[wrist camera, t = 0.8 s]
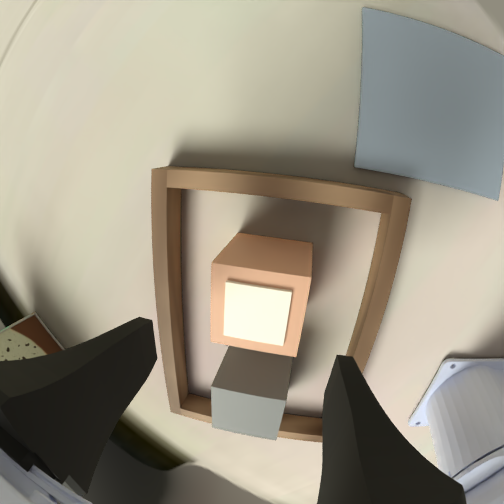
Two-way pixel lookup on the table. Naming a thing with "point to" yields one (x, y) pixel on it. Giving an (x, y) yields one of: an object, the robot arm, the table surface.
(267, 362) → the plain block
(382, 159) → the slate mat
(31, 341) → the food container
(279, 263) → the labelled block
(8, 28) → the table surface
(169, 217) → the walnut bin
